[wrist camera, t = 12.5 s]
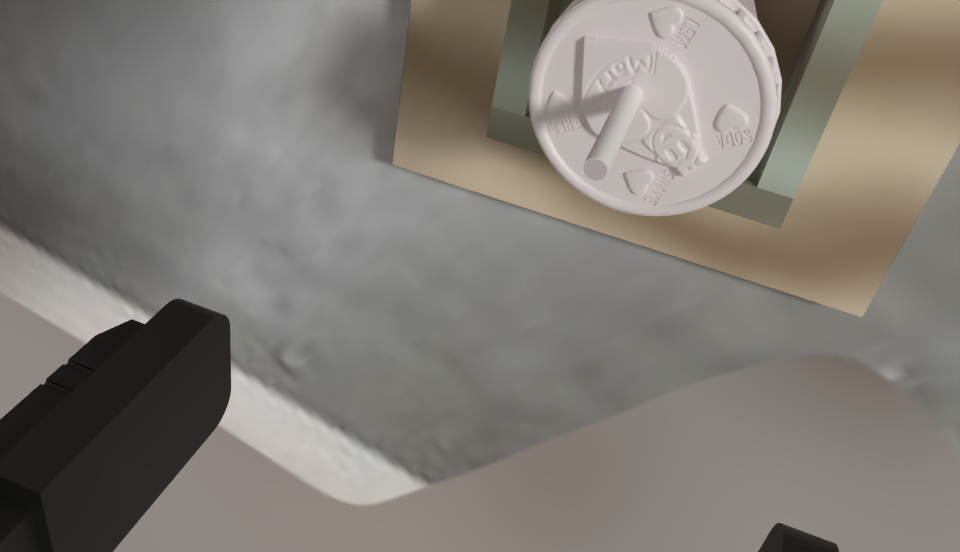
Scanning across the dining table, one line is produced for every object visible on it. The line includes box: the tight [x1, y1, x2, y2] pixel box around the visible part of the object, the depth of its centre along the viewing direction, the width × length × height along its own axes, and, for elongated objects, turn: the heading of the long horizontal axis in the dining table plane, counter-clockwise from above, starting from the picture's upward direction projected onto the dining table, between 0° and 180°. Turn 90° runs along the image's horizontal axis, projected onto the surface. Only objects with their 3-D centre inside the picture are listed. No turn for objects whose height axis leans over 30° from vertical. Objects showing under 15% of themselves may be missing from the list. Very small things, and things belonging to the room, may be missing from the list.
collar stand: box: [392, 0, 960, 317], centre depth 29 cm, size 20×20×6 cm
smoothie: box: [529, 0, 782, 216], centre depth 24 cm, size 6×6×14 cm
